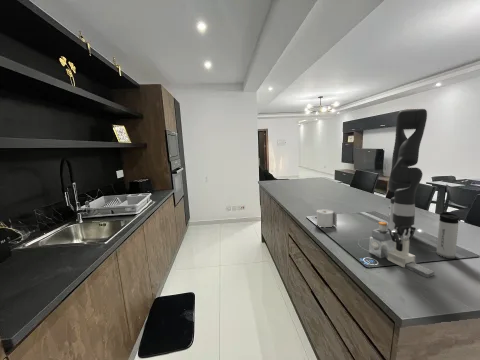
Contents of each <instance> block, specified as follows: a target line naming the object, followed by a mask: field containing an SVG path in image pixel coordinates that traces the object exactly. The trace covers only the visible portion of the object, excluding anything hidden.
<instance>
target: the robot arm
mask: <svg viewBox="0 0 480 360" xmlns="http://www.w3.org/2000/svg"><path fill="white" fill-rule="evenodd" d="M427 119H428V112H427V109H425V108H415V109H414V108H413V109H401V110H400V111H399V112H398V113H397V117H396V123H395V139H394V146H393V152H392V159H391V168H390V174H389V179H388V185H387V186H388V190H389V191H390V193H391V192H392V193H394V196H393V197H391V198H390V207H389V208H390V209H389V210H390V211H389V213H388V214H387V215H388V216H387V217H388V218H387V230H388V231H389V233H390V235H391V238H392V241H394V242H396V250H398V251H400V252H401V251H402V248H403V244H402V243H403V239H407V240H409V241H411V240H413V237H414V234H415V232H416V230H417V229H416V227H415V226H414V225H415V220H416V219H415V216H416V194H417V191H418V190H417V189H418V187H419V185H420V182H422V181H421V180H422V178H423V172H422V169H420V168H419V167H415V166H416V165H417V164H418V162H419V152H420V147H421V144H422V139H423V137H424V132H425V128H426V125H427ZM405 130H414V131H413V133H412V134H411V135H409V137H408V138H407V136H406V133H405ZM399 238H400V240H399Z"/></svg>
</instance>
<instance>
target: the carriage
mask: <svg viewBox="0 0 480 360" xmlns="http://www.w3.org/2000/svg"><path fill="white" fill-rule="evenodd" d="M399 240H400V238H399ZM402 244H403V248H402V251H401V252H400V251H398V250H396V242H395V248H394V250H393V251H389V252H388V259H387V260H388V261H389V262H391V263H393V264H395V265H397V266H399V267H402V268H403V269H404V268H406V267H405V264H406V263H409V262H414V263H416V255H414V254H412V253H410V240H407V239H403V243H402Z"/></svg>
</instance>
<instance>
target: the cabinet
mask: <svg viewBox="0 0 480 360" xmlns="http://www.w3.org/2000/svg"><path fill="white" fill-rule="evenodd" d="M389 231H390V230H389V229H386V233H381V232H379V228H375V229H372V230H371V236H369V244H368V245H369V246H368V247H369V249H368V253H370V254H371V255H373V256H376V257H377V258H379V259H382V258H385V257H384V254H386V253H388V252H389V251H393V250H395V242H394V241H392V238H391V235H390V233H389Z"/></svg>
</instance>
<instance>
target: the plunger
mask: <svg viewBox="0 0 480 360" xmlns="http://www.w3.org/2000/svg"><path fill="white" fill-rule="evenodd" d="M387 226H388V222H384V221H378V229H379V232H381V233H386V230H387Z"/></svg>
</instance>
